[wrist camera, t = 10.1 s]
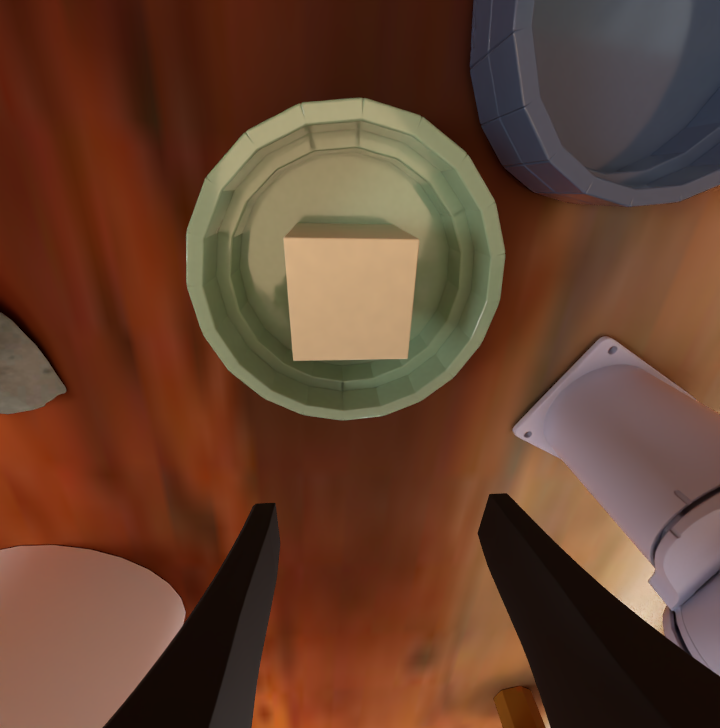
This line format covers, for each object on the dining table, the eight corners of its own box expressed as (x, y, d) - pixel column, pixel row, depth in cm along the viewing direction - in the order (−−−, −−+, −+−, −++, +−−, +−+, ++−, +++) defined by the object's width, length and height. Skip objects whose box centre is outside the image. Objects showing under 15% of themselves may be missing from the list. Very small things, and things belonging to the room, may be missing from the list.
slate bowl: (845, -37, 13) (1044, -124, 9) (597, 251, 17) (666, 267, 14) (660, -395, 9) (875, -774, 5) (404, 90, 13) (431, 55, 10)
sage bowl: (517, 226, 16) (570, 236, 13) (382, 408, 21) (392, 453, 17) (287, 46, 12) (271, -10, 9) (182, 315, 17) (143, 348, 13)
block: (393, 224, 15) (420, 238, 11) (388, 315, 17) (408, 359, 13) (296, 222, 15) (282, 237, 10) (302, 316, 17) (293, 361, 13)
